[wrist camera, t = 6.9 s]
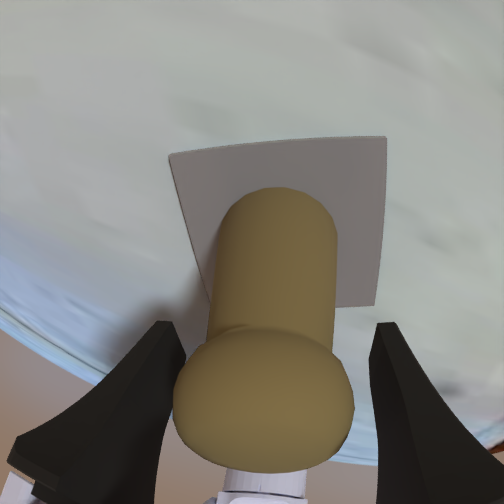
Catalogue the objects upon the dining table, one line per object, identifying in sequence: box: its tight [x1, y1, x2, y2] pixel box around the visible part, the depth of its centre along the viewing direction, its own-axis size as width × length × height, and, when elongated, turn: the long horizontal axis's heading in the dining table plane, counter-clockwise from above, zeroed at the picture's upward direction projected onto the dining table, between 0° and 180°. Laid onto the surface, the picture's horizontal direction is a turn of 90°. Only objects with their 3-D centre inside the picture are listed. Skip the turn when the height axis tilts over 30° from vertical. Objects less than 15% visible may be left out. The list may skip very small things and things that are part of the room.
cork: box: [173, 187, 355, 474], centre depth 12 cm, size 6×6×11 cm
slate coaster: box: [169, 136, 387, 308], centre depth 17 cm, size 10×10×1 cm
